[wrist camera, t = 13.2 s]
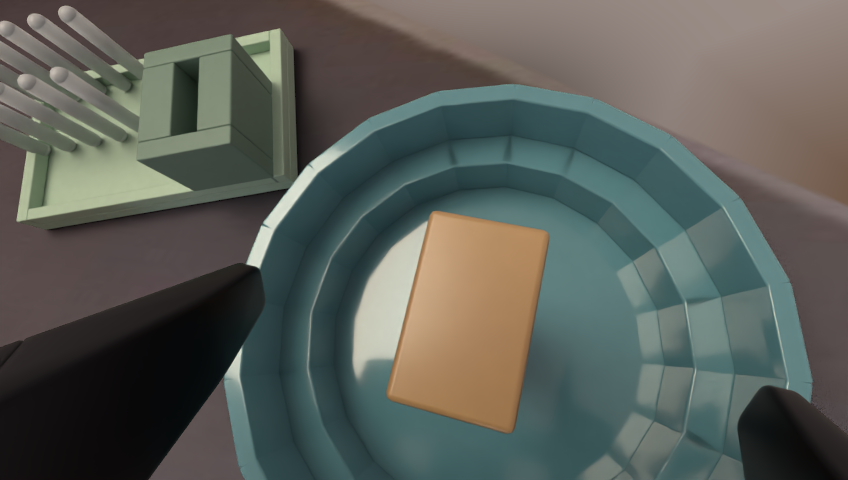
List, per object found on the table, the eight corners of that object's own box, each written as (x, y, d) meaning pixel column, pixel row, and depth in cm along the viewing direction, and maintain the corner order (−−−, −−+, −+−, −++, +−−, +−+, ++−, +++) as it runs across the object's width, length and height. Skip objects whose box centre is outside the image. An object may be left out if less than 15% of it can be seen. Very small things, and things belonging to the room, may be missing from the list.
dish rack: (298, 186, 21) (224, 125, 15) (46, 230, 22) (-105, 190, 17) (293, 47, 23) (227, -52, 17) (63, 97, 25) (-65, 22, 19)
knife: (498, 380, 17) (508, 469, 4) (463, 371, 17) (375, 430, 5) (512, 310, 17) (557, 204, 5) (478, 302, 18) (435, 183, 5)
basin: (557, 683, 14) (592, 872, 9) (230, 383, 19) (127, 396, 14) (787, 287, 16) (927, 258, 11) (441, 99, 21) (422, 13, 15)
